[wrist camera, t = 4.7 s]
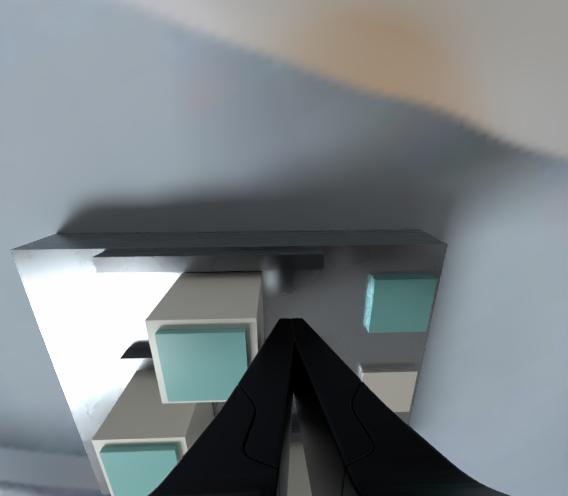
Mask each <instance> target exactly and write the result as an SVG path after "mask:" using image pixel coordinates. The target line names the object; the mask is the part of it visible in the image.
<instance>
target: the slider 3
mask: <svg viewBox="0 0 568 496" xmlns="http://www.w3.org/2000/svg"><path fill="white" fill-rule="evenodd" d="M287 496H312V493H311V488H310V482H309V476H308V471H307V465H306V460H305V454H304V448H303V443H302V442H291V443H290V458H289V474H288V490H287Z"/></svg>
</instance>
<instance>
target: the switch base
mask: <svg viewBox="0 0 568 496" xmlns="http://www.w3.org/2000/svg"><path fill="white" fill-rule="evenodd" d="M446 248H447V244H446V243H444V242H442V241H440V240H438V239H436V238H434V237H432V236H430V235H429V234H427V233H425V232H423V231H421V230H373V231H286V232H200V233H113V234H54V235H51V236H48V237H45V238H43V239H40V240H37V241H34V242H31V243H29V244H26V245H23V246H20V247H17V248H15V249H12V250H11V253H12V255H13V258H14V261H15V263H16V266H17V269H18V271H19V274H20V277H21V279H22V282H23V285H24V287H25V290H26V293H27V295H28V298H29V301H30V303H31V306H32V309H33V311H34V314H35V317H36V319H37V322H38V324H39V327H40V330H41V332H42V335H43V338H44V340H45V343H46V346H47V348H48V351H49V354H50V356H51V359H52V362H53V364H54V367H55V370H56V372H57V375H58V378H59V380H60V383H61V386H62V388H63V391H64V394H65V396H66V399H67V402H68V404H69V407H70V410H71V412H72V415H73V418H74V420H75V423H76V426H77V428H78V431H79V434H80V436H81V439H82V442H83V444H84V447H85V450H86V452H87V455H88V458H89V460H90V463H91V465H92V468H93V471H94V473H95V476H96V479H97V482H98V484H99V487H100V490H101V492H102V494H111V493H110V491H109V488H108V485H107V482H106V480H105V477H104V474H103V471H102V468H101V466H100V463H99V460H98V457H97V454H96V452H95V449H94V446H93V443H92V439H93V437H94V436H95V434H96V432H97V431H98V429H99V428H100V426H101V425H102V423H103V422H104V420H105V419H106V417H107V415H108V414H109V412H110V411H111V409H112V408H113V406H114V405H115V403H116V402H117V400H118V398H119V397H120V395H121V394H122V392H123V391H124V389H125V388H126V386H127V385H128V383H129V381H130V380H131V378H132V377H133V375H134V374H135V372H136V371H137V370H155V367H154V362H153V358H152V353H151V348H150V344H149V339H148V334H147V330H146V325H145V319H146V318H147V317H148V316H149V314H150V313H151V312H152V311H153V309H154V308H155V307H156V305H157V304H158V303H159V302H160V300H161V299H162V298H163V297H164V295H165V294H166V293H167V292H168V290H169V289H170V288H171V287H172V285H173V284H174V283H175V282H176V280H177V279H178V278H179V277H180V275H181V274H182V273H225V272H262V290H263V318H264V342H265V340H266V339H267V337H268V336H269V334H270V332H271V331H272V329H273V328H274V326H275V325H276V323H277V321H278V320H279V319H280V318H290V319H292V318H303V319H304V320H305V321H306V322H307V323H308V324H309V325H310V326H311V327H312V328H313V330H314V331H315V332H316V333H317V334H318V335H319V336H320V337H321V338H322V339H323V340H324V341H325V342H326V343H327V344H328V345H329V346H330V347H331V349H332V350H333V351H334V352H335V353H336V354H337V355H338V356H339V357H340V358H341V359H342V360H343V361H344V362H345V363H346V364H347V365H348V366H349V368H350V369H351V370H352V371H353V372H354V373H355V374H356V375H357V376H358V377H359V378H360V379H361V382H364V383H365V384H366V385H367V386H368V387H369V388H370V390H371V391H372V392H373V393H374V394H375V395H376V396H377V397H378V398H379V399H380V400H381V401H382V402H383V403H384V404H385V405H386V406H388V407H389V408H390V409H391V410H392V411H393V412H394V413H395V414H396V415H397V416H399V417H400V418H401V419H402V420H403V421H404V422H405V423H406V424H409V419H410V414H411V410H412V405H413V400H414V396H415V391H416V387H417V382H418V377H419V373H420V368H421V364H422V359H423V354H424V350H425V345H426V340H427V336H428V331H429V327H430V322H431V317H432V313H433V308H434V304H435V299H436V294H437V290H438V285H439V280H440V276H441V271H442V267H443V262H444V257H445V253H446ZM224 404H225V402H212V406H213V413H214V417H215V416H216V415H217V414H218V412H219V411H220V410H221V408H222V407H223V405H224ZM291 442H302V437H301V432H300V426H299V420H298V415H297V409H296V404H295V398H294V394H293V411H292V427H291Z"/></svg>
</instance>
